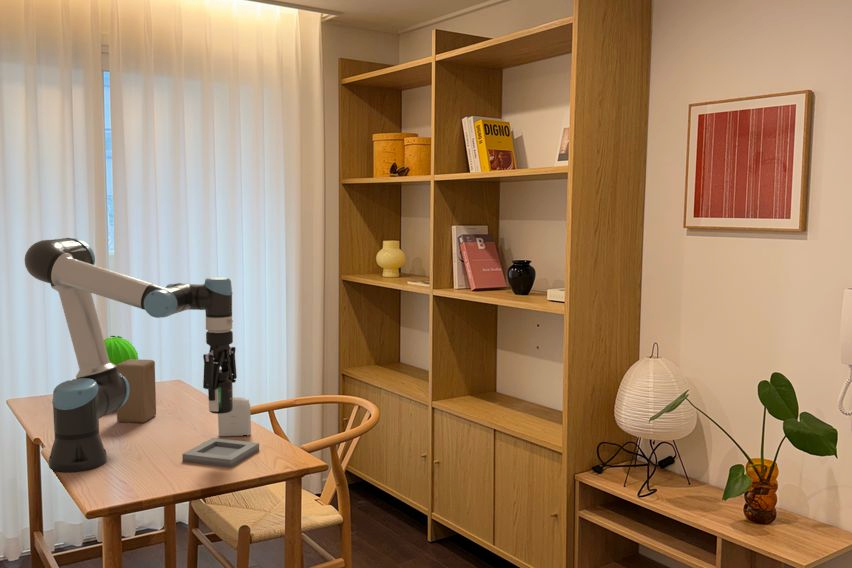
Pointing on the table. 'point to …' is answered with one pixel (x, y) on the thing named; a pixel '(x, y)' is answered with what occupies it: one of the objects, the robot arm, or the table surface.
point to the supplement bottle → (224, 392)
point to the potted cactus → (119, 350)
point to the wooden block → (138, 391)
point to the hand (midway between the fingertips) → (220, 407)
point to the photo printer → (236, 419)
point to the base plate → (220, 452)
